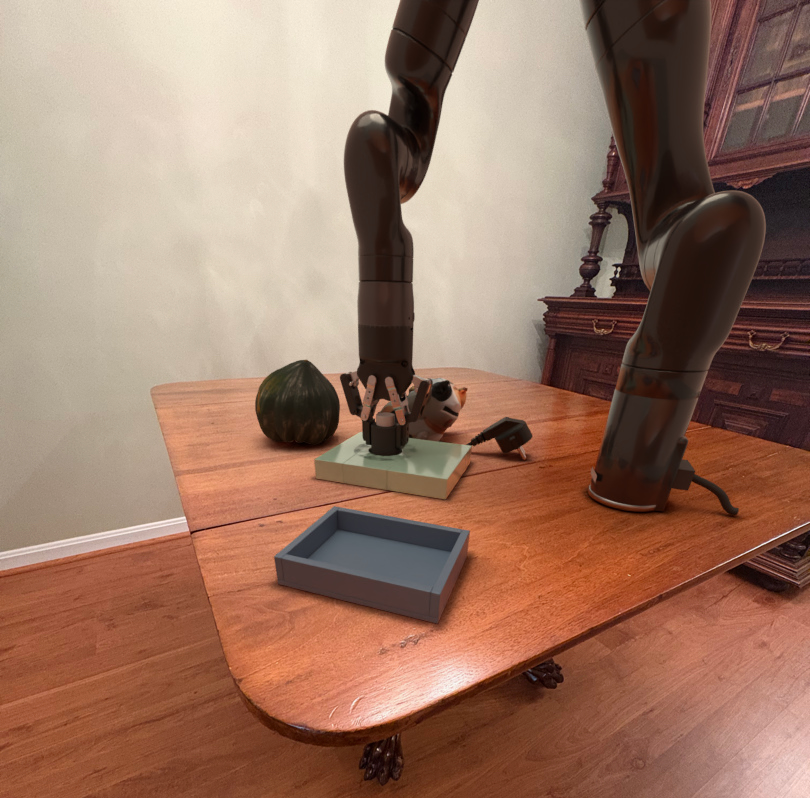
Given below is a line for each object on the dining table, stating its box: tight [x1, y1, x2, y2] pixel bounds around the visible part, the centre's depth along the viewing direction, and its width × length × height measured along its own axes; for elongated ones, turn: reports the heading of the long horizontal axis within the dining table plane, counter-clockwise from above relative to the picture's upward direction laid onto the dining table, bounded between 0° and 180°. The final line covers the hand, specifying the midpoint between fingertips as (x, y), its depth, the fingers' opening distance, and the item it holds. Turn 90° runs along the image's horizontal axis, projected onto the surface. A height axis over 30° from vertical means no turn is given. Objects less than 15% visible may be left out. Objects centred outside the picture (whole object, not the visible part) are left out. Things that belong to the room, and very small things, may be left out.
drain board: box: [313, 431, 473, 500], centre depth 66 cm, size 20×16×3 cm
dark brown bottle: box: [371, 412, 400, 456], centre depth 65 cm, size 4×4×8 cm
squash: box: [254, 359, 341, 446], centre depth 76 cm, size 14×15×15 cm
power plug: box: [465, 416, 533, 461], centre depth 74 cm, size 6×8×12 cm
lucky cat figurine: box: [376, 377, 468, 442], centre depth 80 cm, size 15×12×14 cm
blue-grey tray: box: [273, 505, 471, 624], centre depth 42 cm, size 16×12×3 cm
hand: (385, 445), depth 65 cm, fingers closed on dark brown bottle, 4 cm apart
